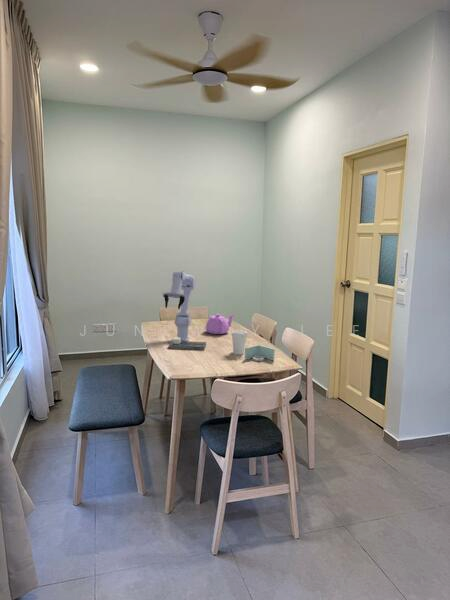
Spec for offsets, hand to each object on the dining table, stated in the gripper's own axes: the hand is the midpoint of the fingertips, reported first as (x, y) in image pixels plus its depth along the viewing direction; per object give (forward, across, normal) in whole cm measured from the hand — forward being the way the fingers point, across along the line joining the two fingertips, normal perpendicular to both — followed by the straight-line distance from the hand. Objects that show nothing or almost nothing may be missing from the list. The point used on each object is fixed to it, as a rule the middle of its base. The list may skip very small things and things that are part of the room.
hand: (172, 307), depth 245 cm
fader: (+13, +3, +22) cm, 26 cm away
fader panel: (+15, +10, +23) cm, 29 cm away
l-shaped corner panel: (+26, +54, +5) cm, 60 cm away
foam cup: (+18, +42, +16) cm, 48 cm away
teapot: (-13, +27, +58) cm, 65 cm away
